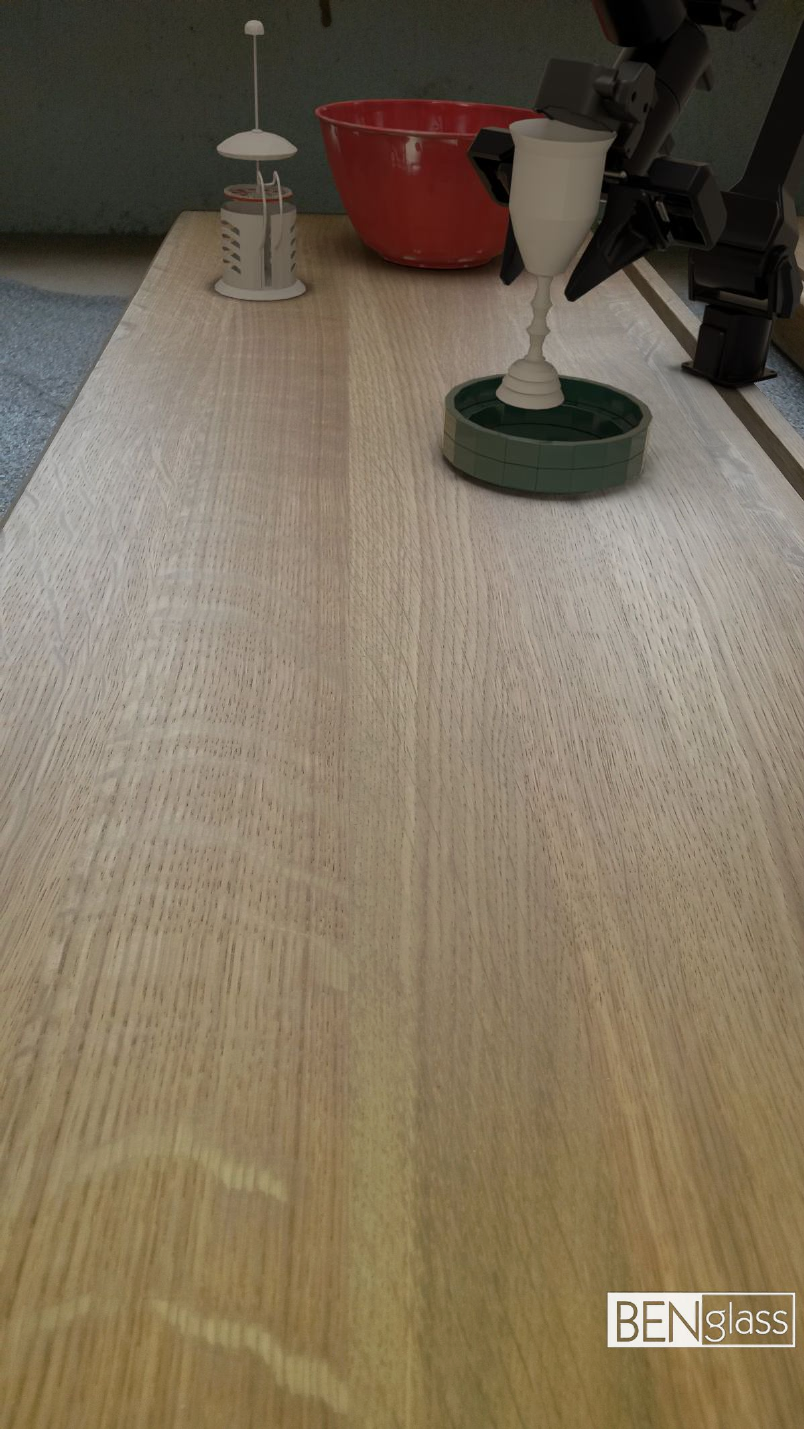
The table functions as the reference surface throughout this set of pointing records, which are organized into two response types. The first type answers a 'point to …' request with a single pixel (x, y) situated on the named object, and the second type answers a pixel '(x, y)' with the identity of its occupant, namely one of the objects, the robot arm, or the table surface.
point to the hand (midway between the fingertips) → (534, 289)
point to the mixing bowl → (417, 178)
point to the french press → (259, 218)
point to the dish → (547, 437)
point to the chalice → (549, 232)
